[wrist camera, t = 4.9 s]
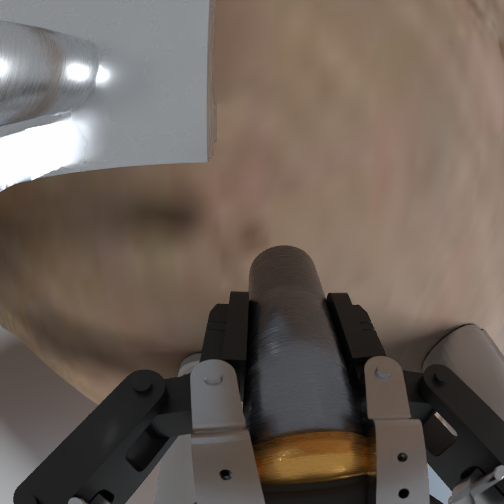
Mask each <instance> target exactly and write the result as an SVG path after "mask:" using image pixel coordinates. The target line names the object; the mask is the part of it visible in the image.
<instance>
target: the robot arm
mask: <svg viewBox="0 0 504 504" xmlns="http://www.w3.org/2000/svg"><path fill="white" fill-rule="evenodd" d="M326 301H327V304H328V308H329V311H330V314H331V317H332V320H333V323H334V327H335V330H336V333H337V337H338V340H339V343H340V347H341V350H342V354H343V357H344V360H345V364H346V368H347V371H348V375H349V378H350V382H351V386H352V389H353V393H354V397H355V401H356V405H357V409H358V412H359V416H360V420H361V425H362V430H363V436H365V437H366V438H367V447H368V457H369V472H368V474H367V475H362V476H356V477H351V478H345V479H338V480H331V481H323V482H314V483H302V484H286V485H261V483H260V479H259V475H258V470H257V466H256V461H255V457H254V452H253V448H252V443H251V438H250V434H249V430H248V428H247V427H246V424H245V419H244V414H243V409H242V404H241V401H243V395H244V379H245V376H246V365H247V341H248V317H249V292H232V291H231V293H230V301H229V304H216V306H215V307H214V308H213V309H212V310H211V311H210V314H209V319H208V324H207V328H206V333H205V338H204V343H203V348H202V353H201V358H200V361H199V364H197V365H196V366H195V367H194V368H193V370H192V371H191V372H190V373H188V374H186V375H184V376H180V377H175V378H169V379H163V378H162V376H161V375H160V374H158V373H157V372H154V371H151V370H139V371H135V372H133V373H131V374H130V375H129V376H127V377H126V378H125V379H124V380H123V381H122V382H121V383H120V384H119V385H118V386H117V387H116V388H115V389H114V390H113V391H112V392H111V393H110V394H109V395H108V396H107V397H106V398H105V399H104V400H103V401H102V402H101V404H100V405H99V406H98V407H97V408H96V409H95V410H94V411H93V412H92V413H91V414H90V415H89V416H88V417H87V418H86V419H85V420H84V421H83V422H82V423H81V424H80V425H79V426H78V427H77V428H76V429H75V430H74V431H73V432H72V433H71V434H70V435H69V436H68V437H67V438H66V439H65V440H64V441H63V442H62V443H61V444H60V445H59V446H58V447H57V448H56V449H55V450H54V451H53V452H52V453H51V454H50V455H49V456H48V457H47V458H46V459H45V460H44V461H43V462H42V463H41V464H40V465H39V466H38V467H37V468H36V469H35V470H34V471H33V473H31V474H30V475H29V476H28V477H27V478H26V480H24V481H23V482H22V483H21V484H20V485H19V486H18V487H17V489H16V490H15V493H14V497H13V501H14V504H125V503H126V502H127V501H128V499H129V498H130V497H131V496H132V494H133V493H134V492H135V491H136V490H137V488H138V487H139V486H140V485H141V484H142V482H143V481H144V480H145V479H146V477H147V476H148V475H149V474H150V472H151V471H152V470H153V469H154V467H155V466H156V465H157V463H158V462H159V461H160V459H161V458H162V457H163V456H164V454H165V453H166V452H167V451H168V449H169V448H170V447H171V445H172V444H173V443H174V441H175V440H176V439H177V437H178V436H180V435H186V434H191V450H192V462H193V473H194V483H195V493H196V502H195V503H194V504H443V503H442V502H440V501H439V500H437V499H436V498H434V497H433V496H431V495H430V494H429V480H428V468H427V463H428V464H429V465H430V466H431V467H432V469H433V470H434V471H435V472H436V473H437V475H438V476H439V477H440V478H441V479H442V480H443V481H444V483H445V484H446V485H447V486H448V487H449V488H450V490H451V491H452V496H451V497H450V498H449V500H448V504H504V356H503V355H502V353H501V352H500V350H499V349H498V347H497V346H496V344H495V343H494V342H493V340H492V339H491V337H490V336H489V335H488V333H487V332H486V331H485V330H480V328H479V327H478V326H476V325H466V326H463V327H461V328H459V329H457V330H455V331H453V332H452V333H450V334H449V335H447V336H446V337H445V338H444V339H443V340H441V341H440V342H439V343H438V344H437V345H436V346H435V347H434V348H433V349H432V351H431V352H430V353H429V354H428V356H427V357H426V359H425V361H424V363H423V367H422V372H423V373H416V372H409V371H404V370H402V368H401V366H400V365H399V364H398V363H397V362H396V361H395V360H393V359H391V358H389V357H387V356H386V354H385V352H384V349H383V347H382V345H381V342H380V340H379V338H378V336H377V333H376V331H374V327H373V324H372V323H371V320H370V318H369V316H368V314H367V312H366V311H365V310H364V309H363V308H362V307H361V306H360V305H352V303H351V300H350V298H349V296H348V294H347V293H329V294H328V296H327V300H326ZM436 412H438V413H439V414H440V415H441V416H442V417H443V418H444V421H445V423H446V425H447V428H448V429H447V428H446V427H445V426H444V425H443V424H442V423H441V422H440V420H439V419H438V418H437V417H436V416H435V415H434V414H435V413H436Z"/></svg>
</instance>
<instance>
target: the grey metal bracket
mask: <svg viewBox="0 0 504 504" xmlns="http://www.w3.org/2000/svg"><path fill="white" fill-rule="evenodd" d="M215 2H216V0H0V191H2V190H4V189H6V188H8V187H10V186H12V185H14V184H16V183H21V182H26V181H31V180H34V179H36V178H42V177H48V176H54V175H60V174H67V173H74V172H81V171H89V170H98V169H107V168H116V167H127V166H139V165H153V164H170V163H195V162H208V161H209V159H210V158H211V157H212V156H213V144H214V143H215V142H216V104H215V103H213V56H214V24H215Z"/></svg>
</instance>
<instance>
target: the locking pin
mask: <svg viewBox="0 0 504 504" xmlns="http://www.w3.org/2000/svg"><path fill="white" fill-rule="evenodd" d="M248 292H249V317H248V341H247V365H246V376H245V379H244V395H243V414H244V419H245V424H246V427H247V428H248V430H249V434H250V438H251V443H252V448H253V452H254V457H255V461H256V466H257V470H258V475H259V479H260V483H261V485H286V484H302V483H314V482H323V481H331V480H338V479H345V478H351V477H356V476H362V475H367V474H368V472H369V457H368V447H367V438H366V437H365V436H363V430H362V425H361V420H360V416H359V412H358V409H357V405H356V401H355V397H354V393H353V389H352V386H351V382H350V378H349V375H348V371H347V368H346V364H345V360H344V357H343V354H342V350H341V347H340V343H339V340H338V337H337V333H336V330H335V327H334V323H333V320H332V317H331V314H330V311H329V308H328V304H327V301H326V298H325V295H324V292H323V289H322V286H321V283H320V280H319V277H318V274H317V271H316V268H315V265H314V263H313V261H312V259H311V258H310V256H309V255H308V254H307V253H305V252H304V251H303V250H301V249H299V248H296V247H293V246H275V247H272V248H269V249H267V250H265V251H263V252H262V253H261V254H259V255H258V256H257V257H256V259H255V260H254V261H253V263H252V265H251V268H250V273H249V291H248Z"/></svg>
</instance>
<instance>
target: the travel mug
mask: <svg viewBox="0 0 504 504" xmlns="http://www.w3.org/2000/svg"><path fill="white" fill-rule="evenodd" d="M200 358H201V353H197V354H193V355H190V356H188V357H187V358H185V359H184V360H183V361H182V363H181V365H180V368H179V373H178V377H180V376H184V375H186V374H188V373H190V372H191V371H192V370H193V368H194V367H195V366H196V365H197V364H199V361H200ZM195 502H196V493H195V483H194V473H193V462H192V450H191V434H186V435H180V436H178V437H177V439H176V440H175V441H174V443H173V444H172V445H171V447H170V448H169V449H168V451H167V452H166V453H165V454H164V456H163V457H162V458H161V464H160V470H159V476H158V482H157V489H156V495H155V501H154V504H194V503H195Z"/></svg>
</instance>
